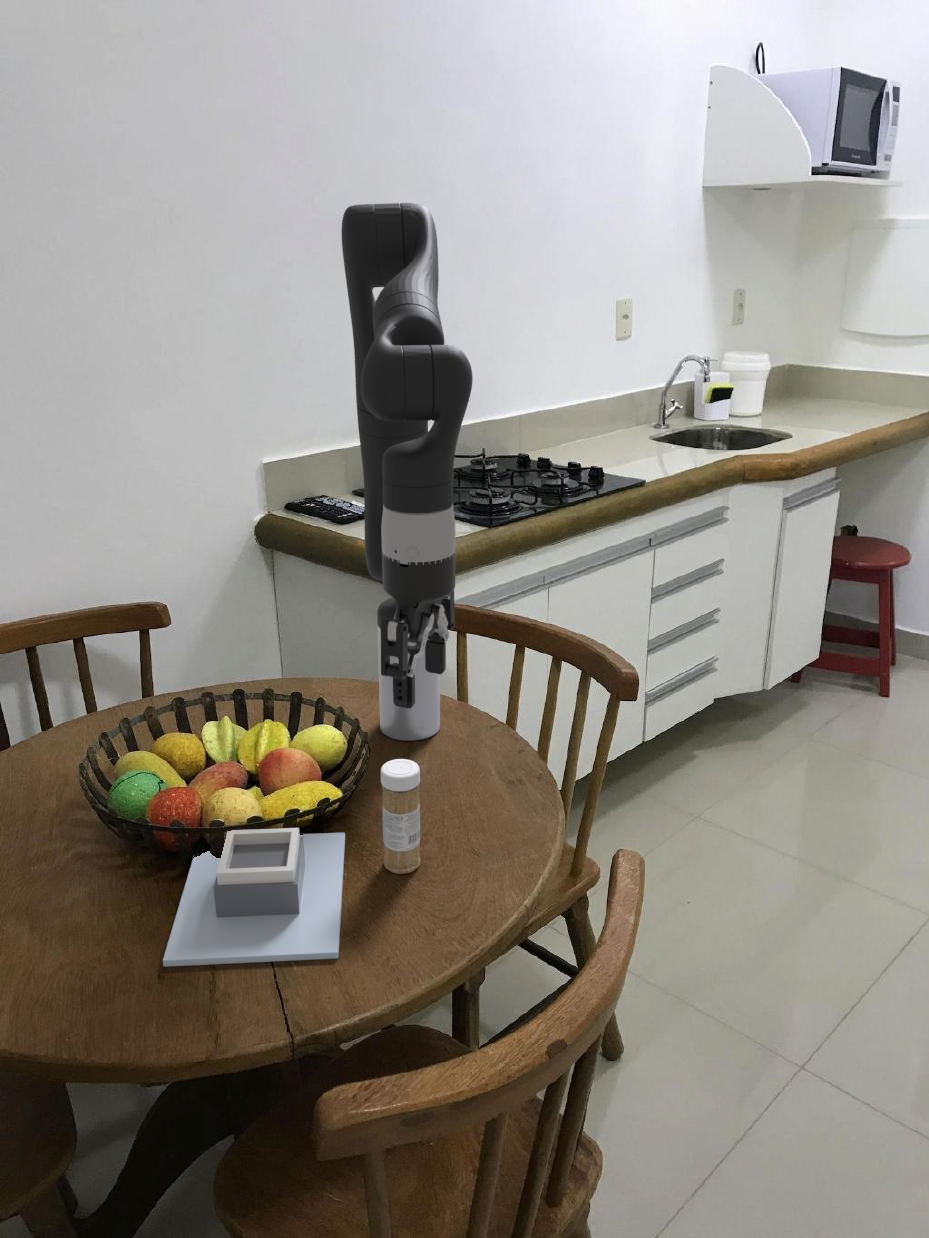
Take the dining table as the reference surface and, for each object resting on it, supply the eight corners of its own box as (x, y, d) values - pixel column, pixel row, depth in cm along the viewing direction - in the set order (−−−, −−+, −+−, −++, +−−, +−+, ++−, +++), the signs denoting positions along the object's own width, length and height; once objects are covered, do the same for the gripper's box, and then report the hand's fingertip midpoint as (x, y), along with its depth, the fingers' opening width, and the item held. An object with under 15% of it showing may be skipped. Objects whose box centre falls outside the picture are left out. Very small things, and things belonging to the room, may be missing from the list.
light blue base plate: (199, 843, 122) (195, 799, 119) (345, 837, 123) (343, 794, 121) (163, 966, 101) (157, 916, 99) (338, 958, 103) (336, 909, 100)
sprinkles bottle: (406, 848, 121) (404, 753, 116) (428, 866, 118) (427, 768, 113) (375, 862, 118) (372, 765, 113) (397, 880, 115) (395, 781, 110)
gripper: (413, 523, 107) (414, 656, 113) (353, 564, 95) (359, 711, 101) (477, 531, 105) (475, 667, 111) (425, 574, 92) (426, 725, 99)
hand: (420, 688), depth 106 cm, fingers open, 8 cm apart
